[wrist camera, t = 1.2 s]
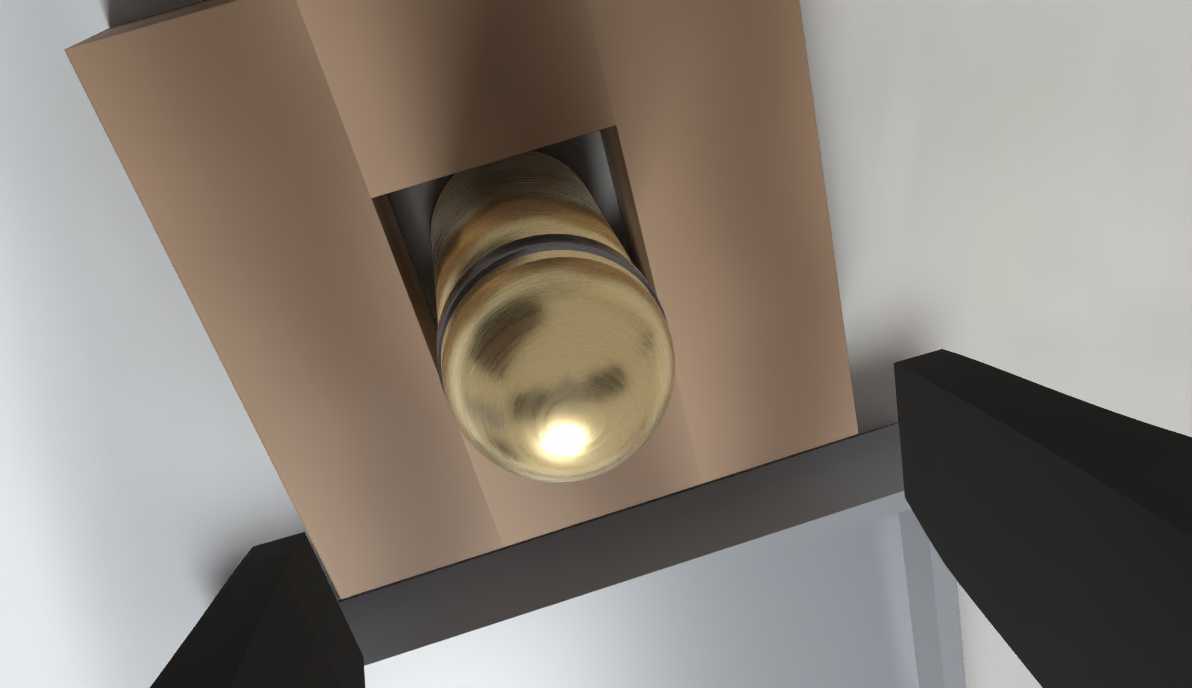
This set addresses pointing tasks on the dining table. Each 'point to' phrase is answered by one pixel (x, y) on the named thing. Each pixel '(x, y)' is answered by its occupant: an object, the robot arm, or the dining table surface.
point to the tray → (694, 593)
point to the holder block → (453, 144)
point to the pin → (544, 323)
